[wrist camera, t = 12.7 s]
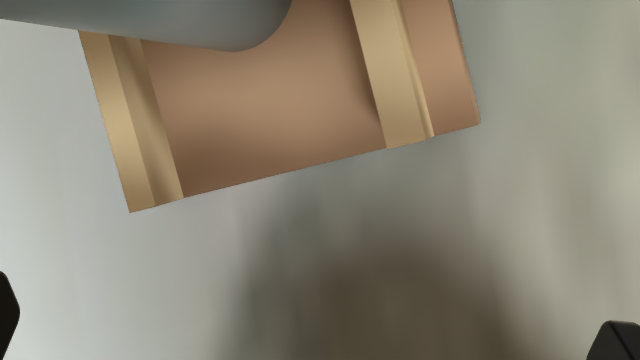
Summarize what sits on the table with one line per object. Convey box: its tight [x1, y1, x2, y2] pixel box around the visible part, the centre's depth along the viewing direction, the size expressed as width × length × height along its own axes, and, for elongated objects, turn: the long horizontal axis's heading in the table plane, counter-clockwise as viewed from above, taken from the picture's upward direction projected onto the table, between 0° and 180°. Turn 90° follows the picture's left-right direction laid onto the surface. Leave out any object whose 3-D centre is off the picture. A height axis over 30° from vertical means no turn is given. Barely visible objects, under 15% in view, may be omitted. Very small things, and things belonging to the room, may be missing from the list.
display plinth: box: [78, 0, 481, 213], centre depth 20 cm, size 12×14×4 cm
